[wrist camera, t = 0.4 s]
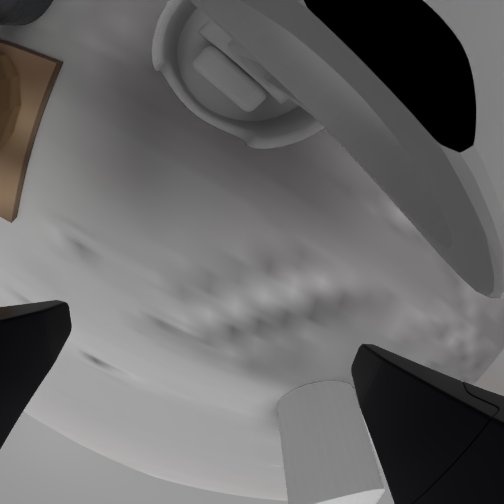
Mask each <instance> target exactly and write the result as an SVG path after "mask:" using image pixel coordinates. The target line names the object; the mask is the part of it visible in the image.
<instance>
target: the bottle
mask: <svg viewBox="0 0 504 504" xmlns="http://www.w3.org/2000/svg"><path fill="white" fill-rule="evenodd" d="M277 414H278V422H279V430H280V438H281V446H282V454H283V462H284V470H285V478H286V486H287V495H288V503H289V504H376V503H377V501H378V500H379V498H380V497H381V495H382V494H383V492H384V491H385V488H384V485H383V482H382V479H381V475H380V471H379V468H378V465H377V461H376V458H375V455H374V451H373V448H372V445H371V442H370V439H369V435H368V432H367V429H366V426H365V423H364V420H363V417H362V414H361V411H360V408H359V405H358V402H357V399H356V396H355V393H354V390H353V388H352V386H351V385H349V384H348V383H345V382H342V381H320V382H315V383H311V384H308V385H304V386H302V387H299V388H296V389H294V390H293V391H291V392H289V393H287V394H286V395H285V396H283V397H282V398H281V399H280V400H279V402H278V404H277Z"/></svg>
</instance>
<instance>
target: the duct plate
mask: <svg viewBox="0 0 504 504" xmlns="http://www.w3.org/2000/svg"><path fill="white" fill-rule="evenodd" d="M62 64H63V62H61V61H58V60H56V59H53V58H50V57H48V56H45V55H43V54H40V53H37V52H35V51H32V50H29V49H26V48H24V47H21V46H18V45H15V44H12V43H9V42H6V41H3V40H0V217H2V218H4V219H6V220H7V221H9V222H11V223H12V222H13V221H14V219H15V218H16V217H17V213H18V207H19V202H20V196H21V192H22V187H23V182H24V178H25V174H26V169H27V165H28V161H29V158H30V154H31V150H32V147H33V143H34V140H35V136H36V133H37V130H38V127H39V124H40V121H41V118H42V115H43V112H44V109H45V106H46V103H47V101H48V98H49V95H50V93H51V90H52V87H53V85H54V82H55V80H56V78H57V75H58V73H59V70H60V68H61V66H62Z"/></svg>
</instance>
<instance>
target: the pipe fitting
mask: <svg viewBox="0 0 504 504" xmlns="http://www.w3.org/2000/svg"><path fill="white" fill-rule="evenodd" d="M52 1H53V0H0V25H25V24H29V23H31V22H33V21H35V20H36V19H38V18H39V17H40V16H41V15H42V14H43V13H44V12H45V11H46V10H47V9H48V7H49V6H50V5H51V3H52Z"/></svg>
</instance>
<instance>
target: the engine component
mask: <svg viewBox="0 0 504 504" xmlns="http://www.w3.org/2000/svg"><path fill="white" fill-rule="evenodd" d="M152 61H153V65H154V68H155V70H156V71H160V72H161V73H162V74H163V75H164V77H165V78H166V80H167V81H168V83H169V85H170V86H171V88H172V89H173V91H174V92H175V94H176V95H177V96H178V97H179V99H180V100H181V101H182V102H183V104H184V105H185V106H186V107H187V108H188V109H189V110H190V111H192V112H193V113H194V114H195V115H196V116H198V117H199V118H201V119H202V120H204V121H206V122H207V123H209V124H211V125H213V126H215V127H217V128H219V129H221V130H223V131H225V132H228V133H230V134H232V135H235V136H237V137H239V138H241V139H243V140H244V141H245V142H246V145H247V146H249V147H251V148H257V149H269V148H277V147H283V146H286V145H290V144H293V143H297V142H300V141H302V140H304V139H306V138H308V137H310V136H313V135H314V134H316V133H317V132H319V131H320V130H322V129H323V128H325V129H326V130H327V131H328V132H329V133H330V134H331V135H332V136H333V137H334V138H335V139H336V140H337V141H338V142H339V143H340V144H341V145H342V146H343V147H344V148H345V150H346V151H347V152H348V153H349V154H350V155H351V156H352V157H353V158H354V159H355V160H356V161H357V162H358V164H359V165H360V166H361V167H362V168H363V169H364V170H365V171H366V172H367V173H368V174H369V176H370V177H371V178H372V179H373V180H374V181H375V182H376V183H377V184H378V185H379V186H380V188H381V189H382V190H383V191H384V192H385V193H386V194H387V195H388V196H389V198H390V199H391V200H392V201H393V202H394V203H395V204H396V206H397V207H398V208H399V209H400V210H401V211H402V212H403V213H404V215H405V216H406V217H407V218H408V219H409V220H410V221H411V223H412V224H413V225H414V226H415V227H416V228H417V229H418V231H419V232H420V233H421V234H422V235H423V236H424V237H425V239H426V240H427V241H428V242H429V243H430V244H431V245H432V247H433V248H434V249H435V250H436V251H437V252H438V253H439V254H440V256H441V257H442V258H443V259H444V260H445V261H446V262H447V263H448V264H449V265H450V266H451V267H452V268H453V270H454V271H455V272H456V273H457V274H458V275H459V276H460V277H461V278H462V279H463V280H464V281H465V282H467V283H468V284H469V285H470V286H471V287H472V288H473V289H475V290H476V291H477V292H479V293H481V294H483V295H485V296H487V297H490V298H499V297H501V296H504V0H169V1H168V3H167V4H166V6H165V8H164V9H163V11H162V13H161V15H160V17H159V19H158V22H157V25H156V29H155V32H154V35H153V43H152Z"/></svg>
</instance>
